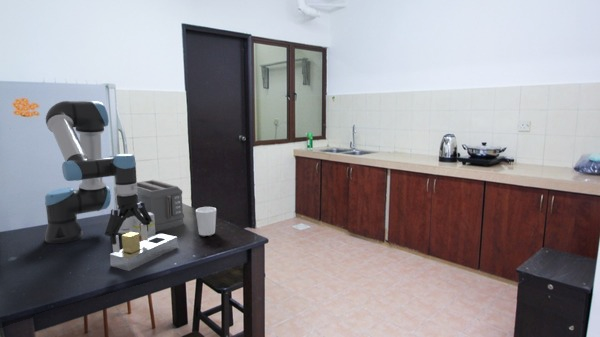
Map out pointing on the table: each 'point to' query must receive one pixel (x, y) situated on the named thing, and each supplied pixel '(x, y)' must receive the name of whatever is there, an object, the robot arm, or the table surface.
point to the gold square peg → (131, 243)
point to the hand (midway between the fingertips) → (131, 245)
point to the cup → (206, 220)
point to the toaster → (161, 203)
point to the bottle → (127, 223)
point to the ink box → (150, 227)
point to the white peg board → (144, 252)
